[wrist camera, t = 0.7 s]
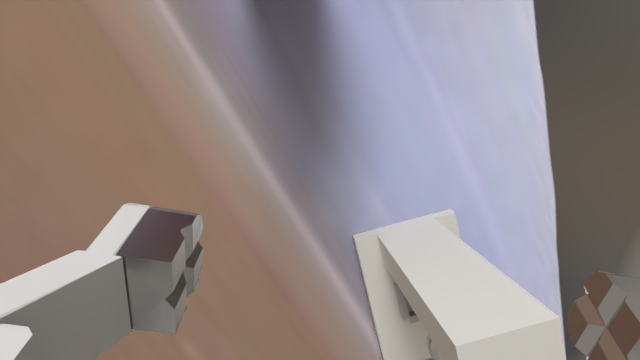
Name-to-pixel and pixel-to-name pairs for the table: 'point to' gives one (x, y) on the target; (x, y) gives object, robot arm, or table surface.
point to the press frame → (448, 297)
